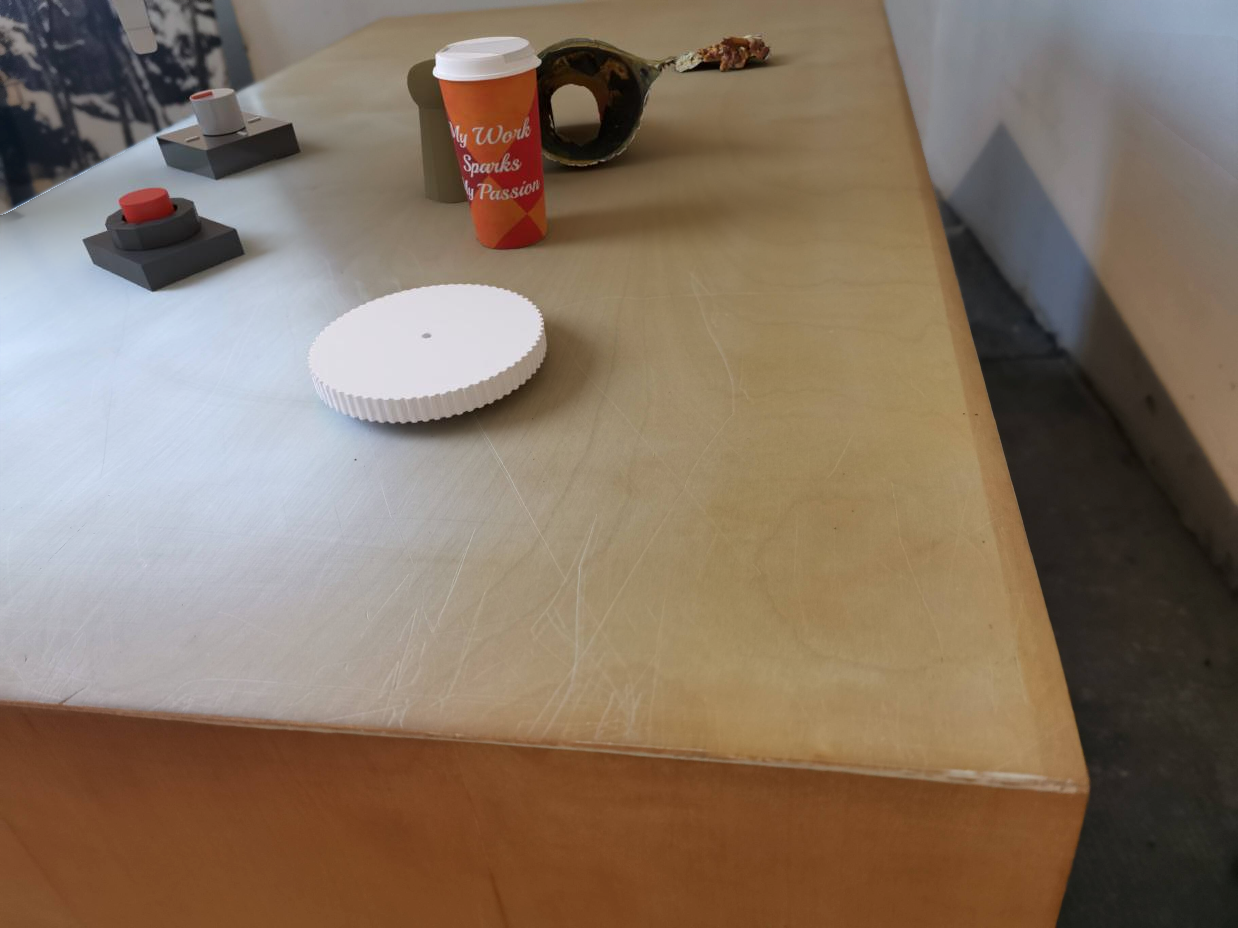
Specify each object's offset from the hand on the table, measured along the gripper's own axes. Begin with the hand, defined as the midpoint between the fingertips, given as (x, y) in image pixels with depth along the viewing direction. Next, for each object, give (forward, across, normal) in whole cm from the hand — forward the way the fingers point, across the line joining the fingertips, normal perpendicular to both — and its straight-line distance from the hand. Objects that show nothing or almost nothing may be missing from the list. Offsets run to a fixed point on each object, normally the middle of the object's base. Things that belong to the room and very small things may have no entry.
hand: (141, 43), depth 71 cm
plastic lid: (+14, +42, +8) cm, 45 cm away
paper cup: (+14, +24, +21) cm, 35 cm away
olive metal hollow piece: (+14, +10, +35) cm, 39 cm away
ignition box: (+14, +11, -4) cm, 18 cm away
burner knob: (+11, -14, +5) cm, 19 cm away
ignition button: (+11, +11, -4) cm, 16 cm away
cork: (+14, +11, +21) cm, 28 cm away
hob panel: (+14, -14, +5) cm, 21 cm away
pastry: (+14, -10, +64) cm, 67 cm away
